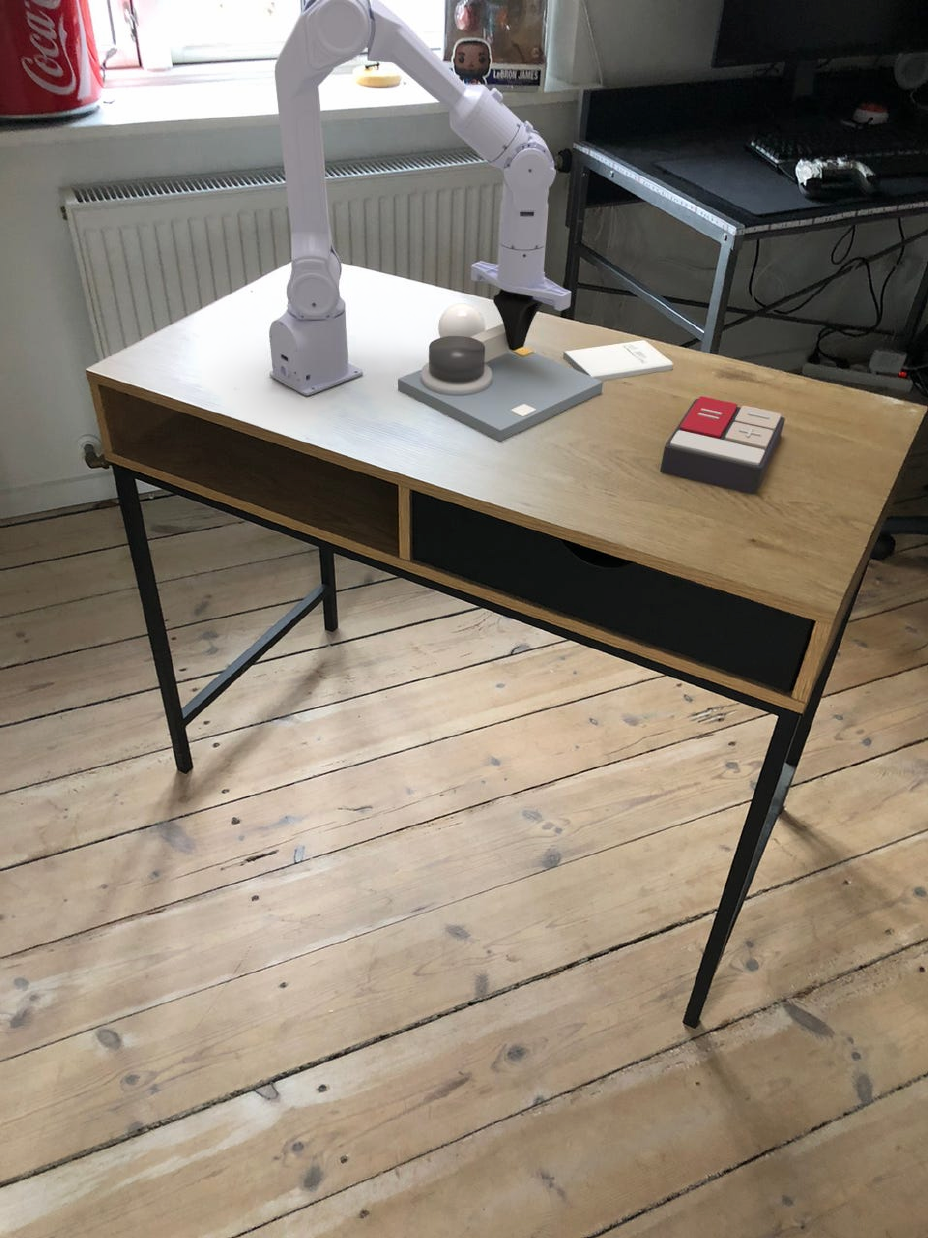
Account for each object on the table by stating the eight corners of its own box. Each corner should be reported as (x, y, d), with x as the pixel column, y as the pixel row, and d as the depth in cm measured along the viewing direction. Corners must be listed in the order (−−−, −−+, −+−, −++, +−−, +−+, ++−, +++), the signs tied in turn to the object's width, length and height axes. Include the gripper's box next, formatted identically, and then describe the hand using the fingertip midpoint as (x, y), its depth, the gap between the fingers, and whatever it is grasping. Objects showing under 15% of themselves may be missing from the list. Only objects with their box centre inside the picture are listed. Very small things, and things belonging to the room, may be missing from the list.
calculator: (787, 411, 122) (763, 462, 111) (779, 443, 125) (754, 497, 114) (697, 391, 126) (665, 439, 114) (690, 423, 128) (658, 473, 117)
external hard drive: (562, 361, 140) (641, 348, 144) (589, 387, 134) (672, 373, 138) (563, 350, 139) (643, 337, 143) (591, 375, 133) (673, 361, 137)
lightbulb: (455, 351, 147) (467, 365, 138) (421, 321, 145) (432, 334, 135) (484, 316, 146) (498, 328, 136) (451, 286, 144) (463, 296, 134)
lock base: (499, 441, 121) (501, 422, 120) (398, 389, 131) (397, 371, 129) (601, 392, 132) (603, 374, 130) (500, 347, 142) (501, 330, 140)
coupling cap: (457, 387, 126) (458, 364, 124) (417, 369, 129) (417, 346, 127) (533, 352, 134) (535, 330, 132) (494, 336, 138) (495, 314, 136)
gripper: (590, 248, 123) (579, 354, 132) (497, 220, 131) (493, 322, 139) (554, 263, 119) (545, 372, 128) (461, 233, 126) (458, 338, 135)
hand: (516, 347), depth 133 cm, fingers closed
